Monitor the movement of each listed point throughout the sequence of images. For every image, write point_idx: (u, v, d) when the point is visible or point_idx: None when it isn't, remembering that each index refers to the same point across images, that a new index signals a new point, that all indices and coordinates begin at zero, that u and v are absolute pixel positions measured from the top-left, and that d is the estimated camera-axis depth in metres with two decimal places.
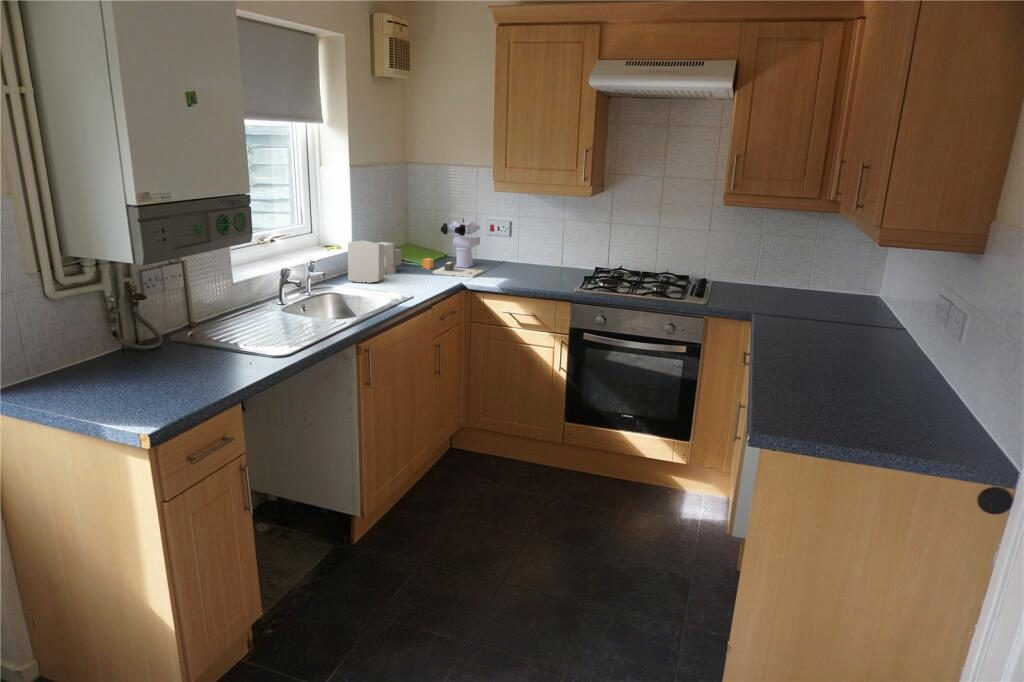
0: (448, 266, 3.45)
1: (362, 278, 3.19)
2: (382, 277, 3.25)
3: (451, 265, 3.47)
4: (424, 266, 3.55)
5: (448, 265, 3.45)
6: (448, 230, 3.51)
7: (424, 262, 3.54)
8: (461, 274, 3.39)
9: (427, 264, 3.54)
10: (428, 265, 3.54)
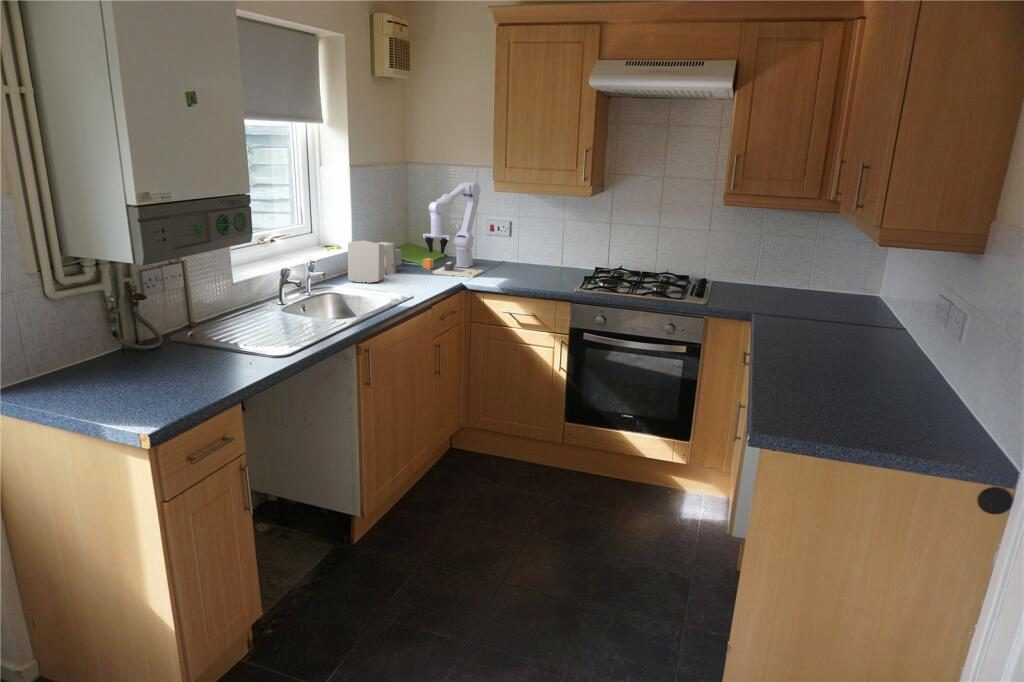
0: (448, 266, 3.45)
1: (362, 278, 3.19)
2: (382, 277, 3.25)
3: (451, 265, 3.47)
4: (424, 266, 3.55)
5: (448, 265, 3.45)
6: None
7: (424, 262, 3.54)
8: (461, 274, 3.39)
9: (427, 264, 3.54)
10: (428, 265, 3.54)
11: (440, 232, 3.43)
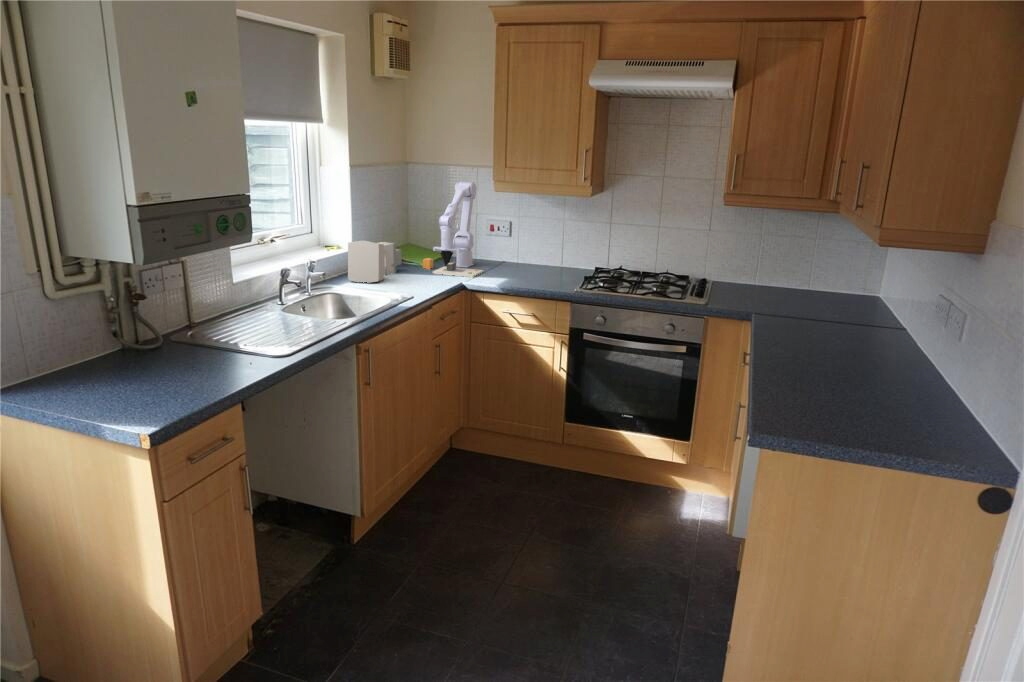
0: (450, 267, 3.45)
1: (362, 278, 3.19)
2: (382, 277, 3.25)
3: (453, 265, 3.46)
4: (424, 266, 3.55)
5: (450, 265, 3.45)
6: None
7: (424, 262, 3.54)
8: (461, 274, 3.39)
9: (427, 264, 3.54)
10: (428, 265, 3.54)
11: (450, 245, 3.43)
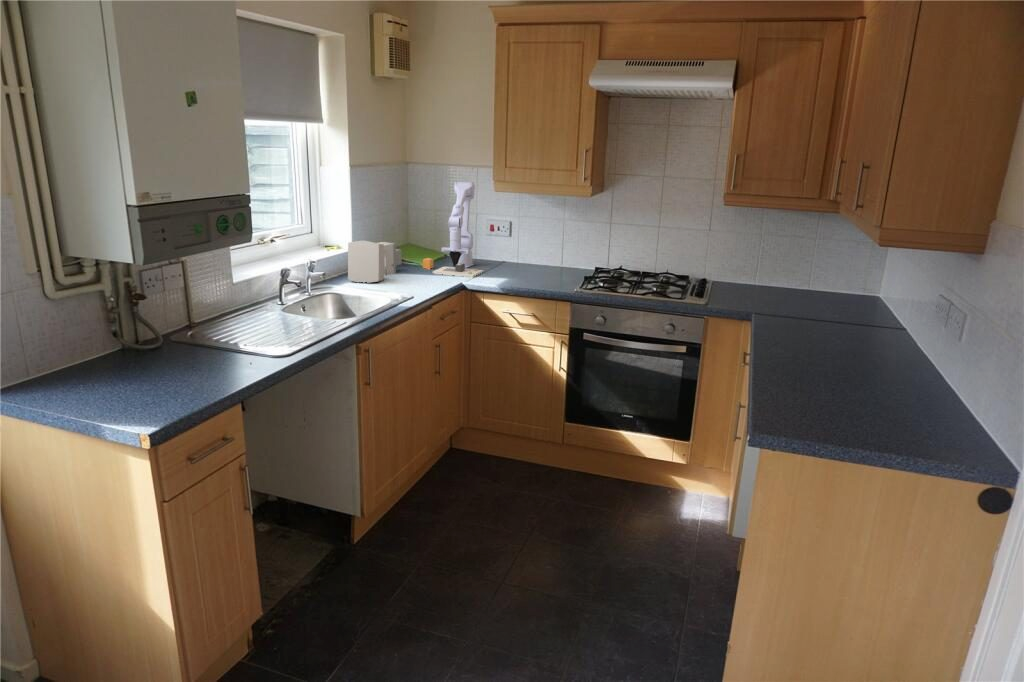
0: (459, 268, 3.44)
1: (362, 278, 3.19)
2: (382, 277, 3.25)
3: (462, 266, 3.45)
4: (424, 266, 3.55)
5: (459, 266, 3.43)
6: None
7: (424, 262, 3.54)
8: (461, 274, 3.39)
9: (427, 264, 3.54)
10: (428, 265, 3.54)
11: (459, 246, 3.42)
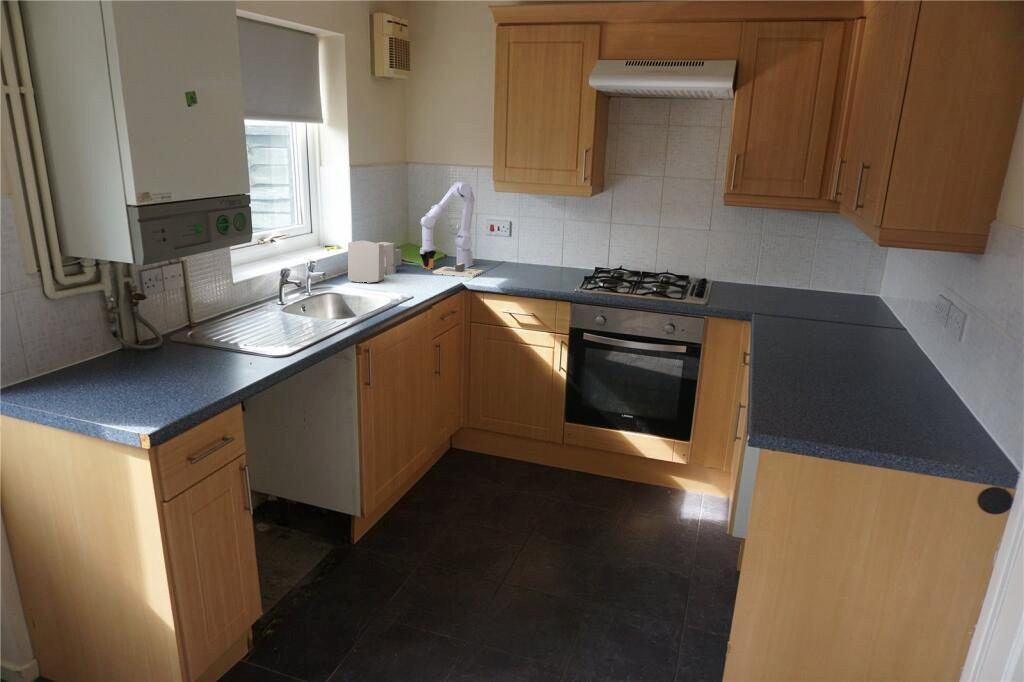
0: (459, 268, 3.44)
1: (362, 278, 3.19)
2: (382, 277, 3.25)
3: (462, 266, 3.45)
4: (424, 266, 3.55)
5: (459, 266, 3.43)
6: None
7: None
8: (461, 274, 3.39)
9: None
10: (428, 265, 3.54)
11: (423, 245, 3.51)
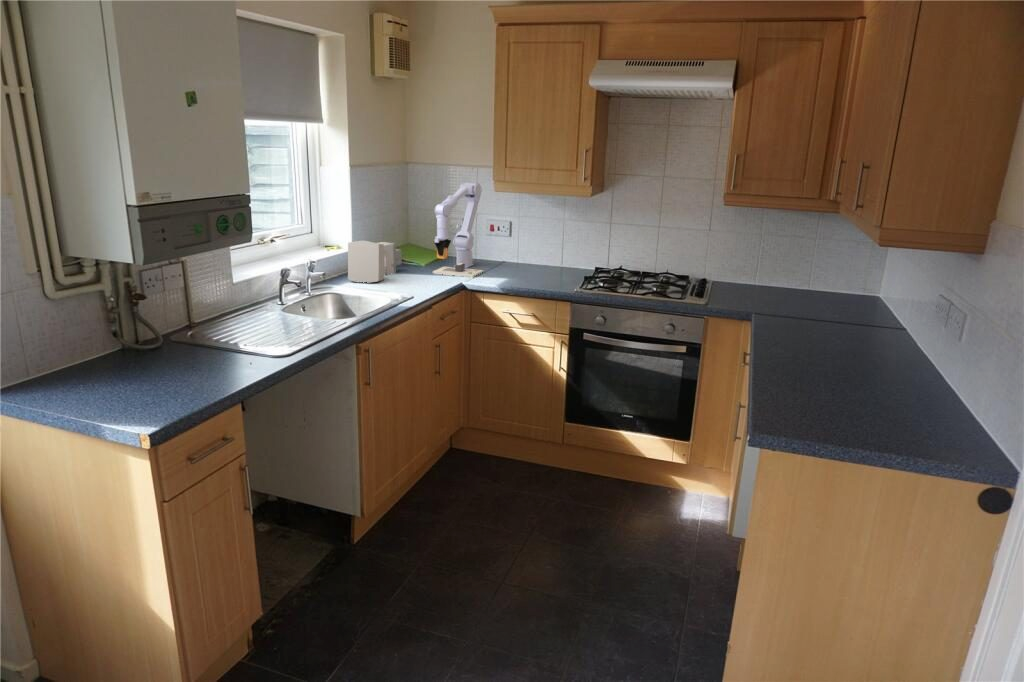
0: (459, 268, 3.44)
1: (362, 278, 3.19)
2: (382, 277, 3.25)
3: (462, 266, 3.45)
4: (438, 255, 3.48)
5: (459, 266, 3.43)
6: None
7: None
8: (461, 274, 3.39)
9: None
10: None
11: (438, 234, 3.44)
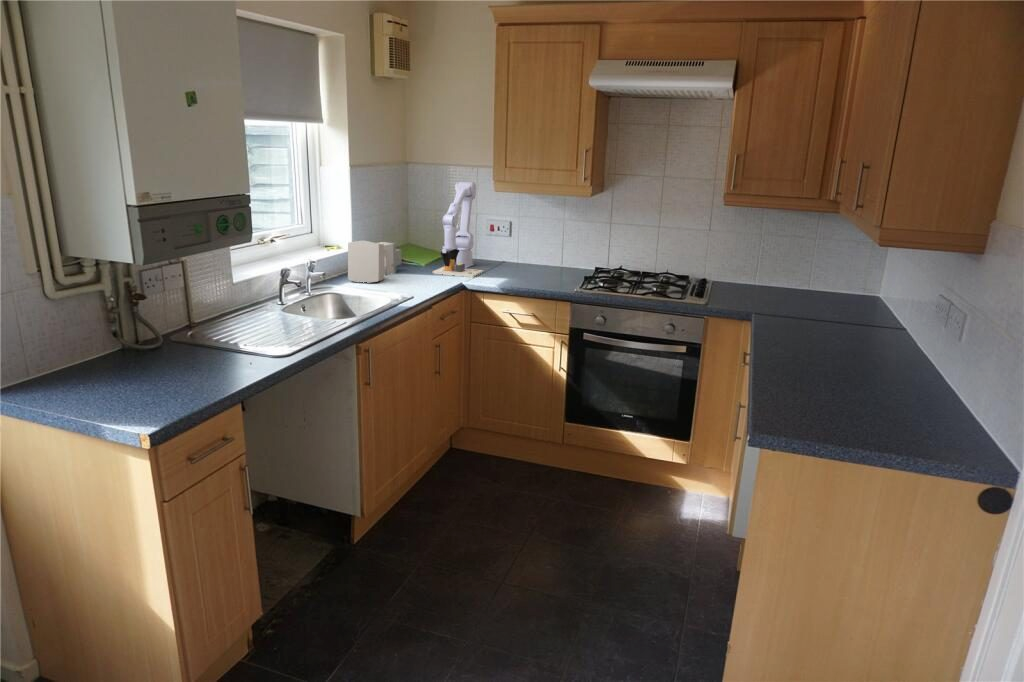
0: (459, 268, 3.44)
1: (362, 278, 3.19)
2: (382, 277, 3.25)
3: (462, 266, 3.45)
4: (446, 267, 3.47)
5: (459, 266, 3.43)
6: None
7: None
8: (461, 274, 3.39)
9: (449, 265, 3.46)
10: (449, 266, 3.46)
11: (446, 244, 3.42)
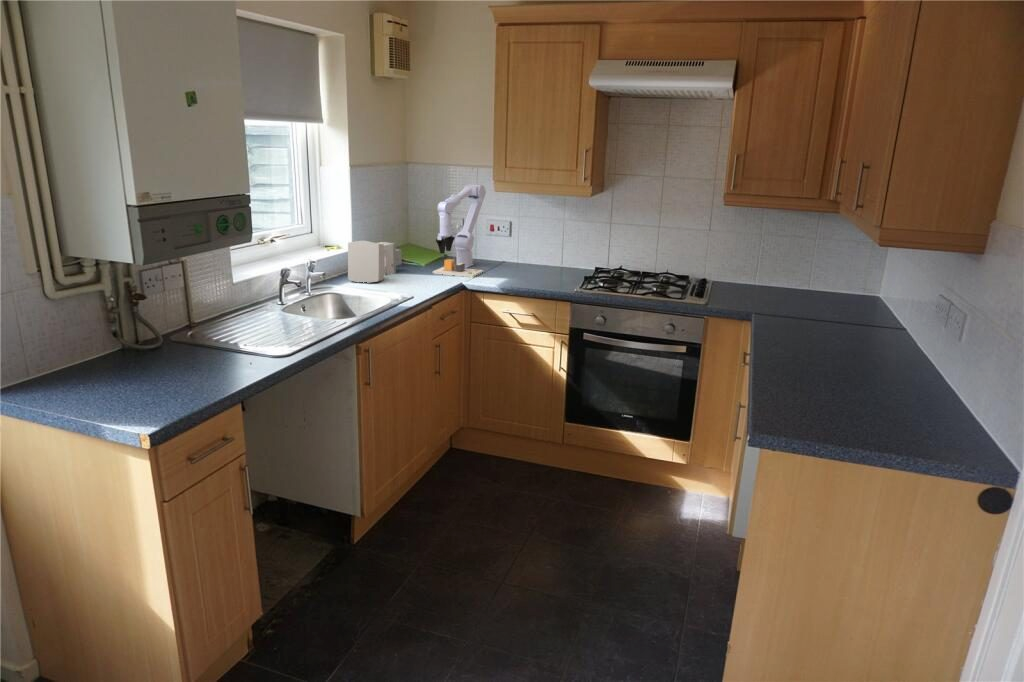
0: (459, 268, 3.44)
1: (362, 278, 3.19)
2: (382, 277, 3.25)
3: (462, 266, 3.45)
4: (446, 267, 3.47)
5: (459, 266, 3.43)
6: None
7: (446, 263, 3.46)
8: (461, 274, 3.39)
9: (449, 265, 3.46)
10: (449, 266, 3.46)
11: (441, 231, 3.46)
